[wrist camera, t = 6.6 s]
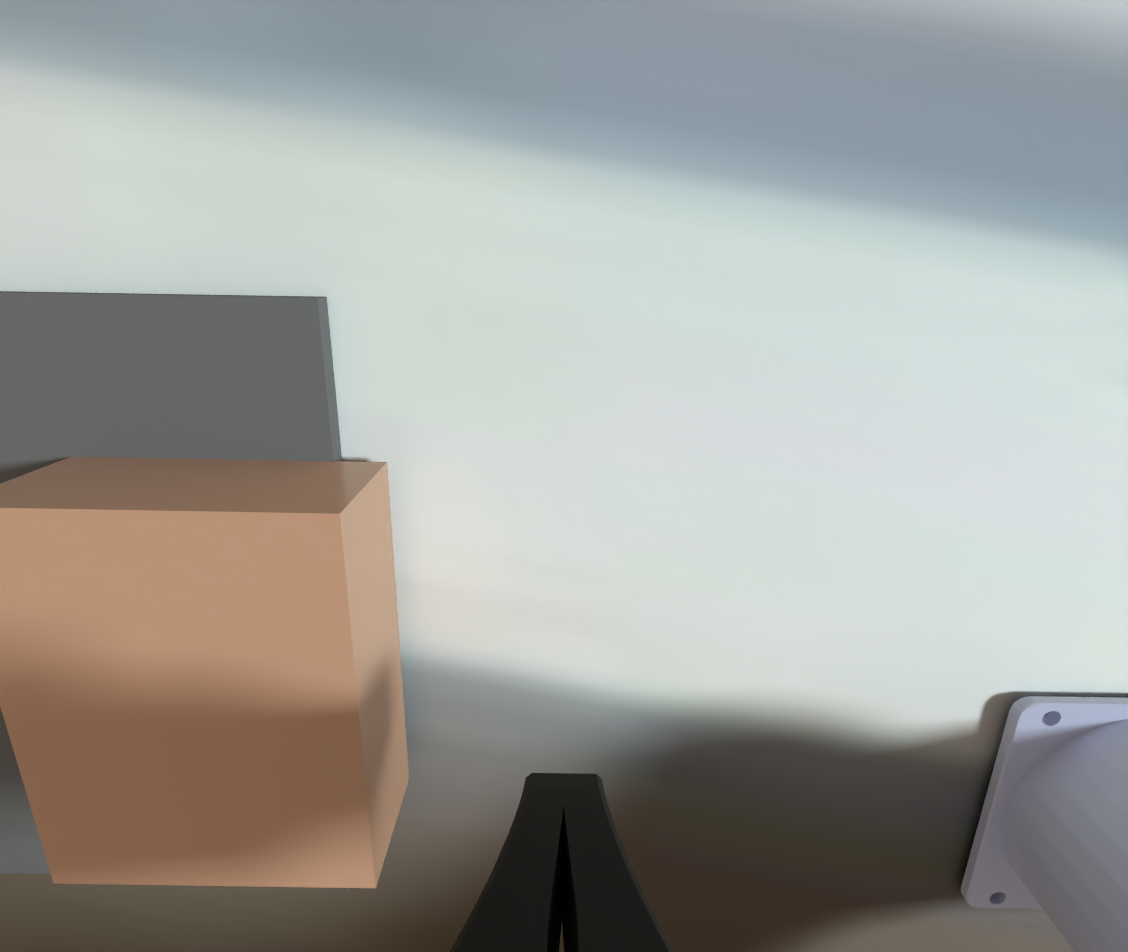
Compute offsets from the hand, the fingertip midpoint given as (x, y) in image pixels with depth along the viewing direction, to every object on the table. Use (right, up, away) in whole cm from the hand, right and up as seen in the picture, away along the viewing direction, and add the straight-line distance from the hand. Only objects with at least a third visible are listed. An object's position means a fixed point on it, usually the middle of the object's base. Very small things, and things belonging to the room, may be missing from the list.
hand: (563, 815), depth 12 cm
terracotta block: (-5, +1, +4) cm, 6 cm away
